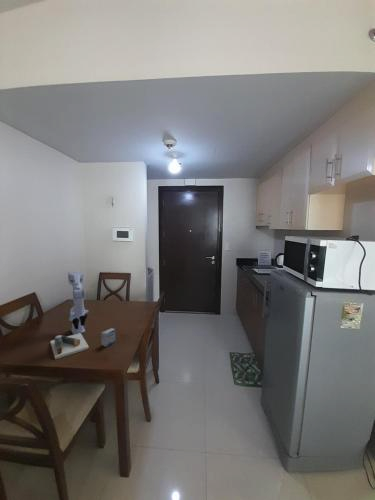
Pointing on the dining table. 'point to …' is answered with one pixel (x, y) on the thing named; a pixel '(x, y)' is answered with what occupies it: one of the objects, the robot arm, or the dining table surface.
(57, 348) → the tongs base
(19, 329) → the dining table surface
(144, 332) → the dining table surface
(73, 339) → the tongs arm
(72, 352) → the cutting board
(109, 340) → the medicine box
